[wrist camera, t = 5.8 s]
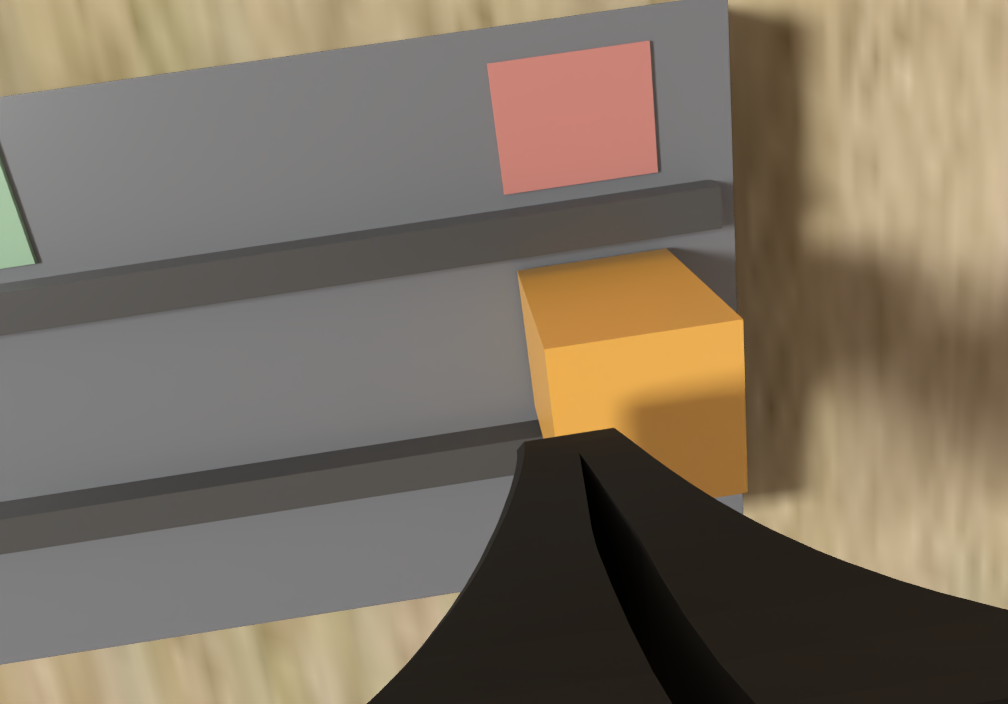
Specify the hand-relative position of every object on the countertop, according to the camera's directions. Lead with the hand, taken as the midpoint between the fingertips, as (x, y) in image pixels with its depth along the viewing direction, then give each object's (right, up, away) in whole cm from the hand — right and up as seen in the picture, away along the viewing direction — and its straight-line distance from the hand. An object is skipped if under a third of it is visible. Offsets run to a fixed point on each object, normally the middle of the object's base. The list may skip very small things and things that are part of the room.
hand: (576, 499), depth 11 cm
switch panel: (-5, +3, +9) cm, 10 cm away
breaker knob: (+1, +2, +6) cm, 6 cm away
